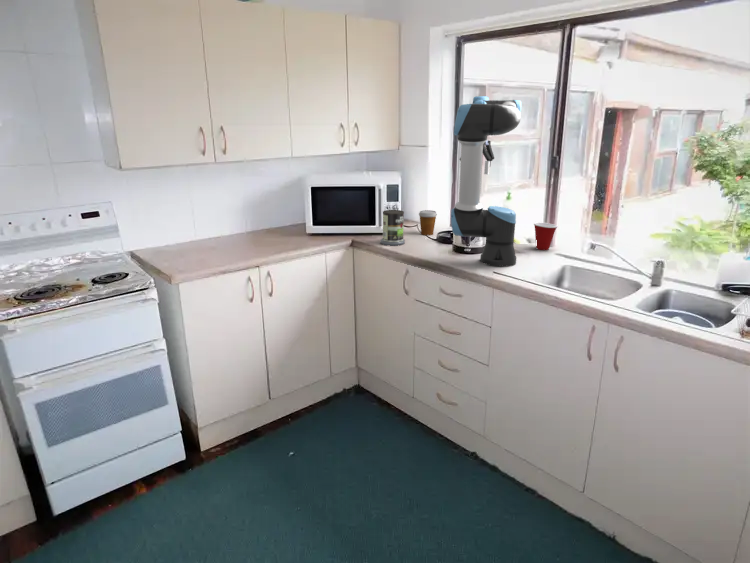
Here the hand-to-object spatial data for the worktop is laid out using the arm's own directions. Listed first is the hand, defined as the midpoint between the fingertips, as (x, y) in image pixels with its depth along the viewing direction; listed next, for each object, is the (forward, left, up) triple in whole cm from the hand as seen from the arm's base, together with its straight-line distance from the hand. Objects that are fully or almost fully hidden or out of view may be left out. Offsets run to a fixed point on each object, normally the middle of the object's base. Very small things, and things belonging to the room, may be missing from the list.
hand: (476, 175), depth 249 cm
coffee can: (+11, +41, -30) cm, 53 cm away
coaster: (+11, +42, -32) cm, 53 cm away
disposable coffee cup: (+18, +16, -32) cm, 40 cm away
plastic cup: (-34, -14, -32) cm, 49 cm away
